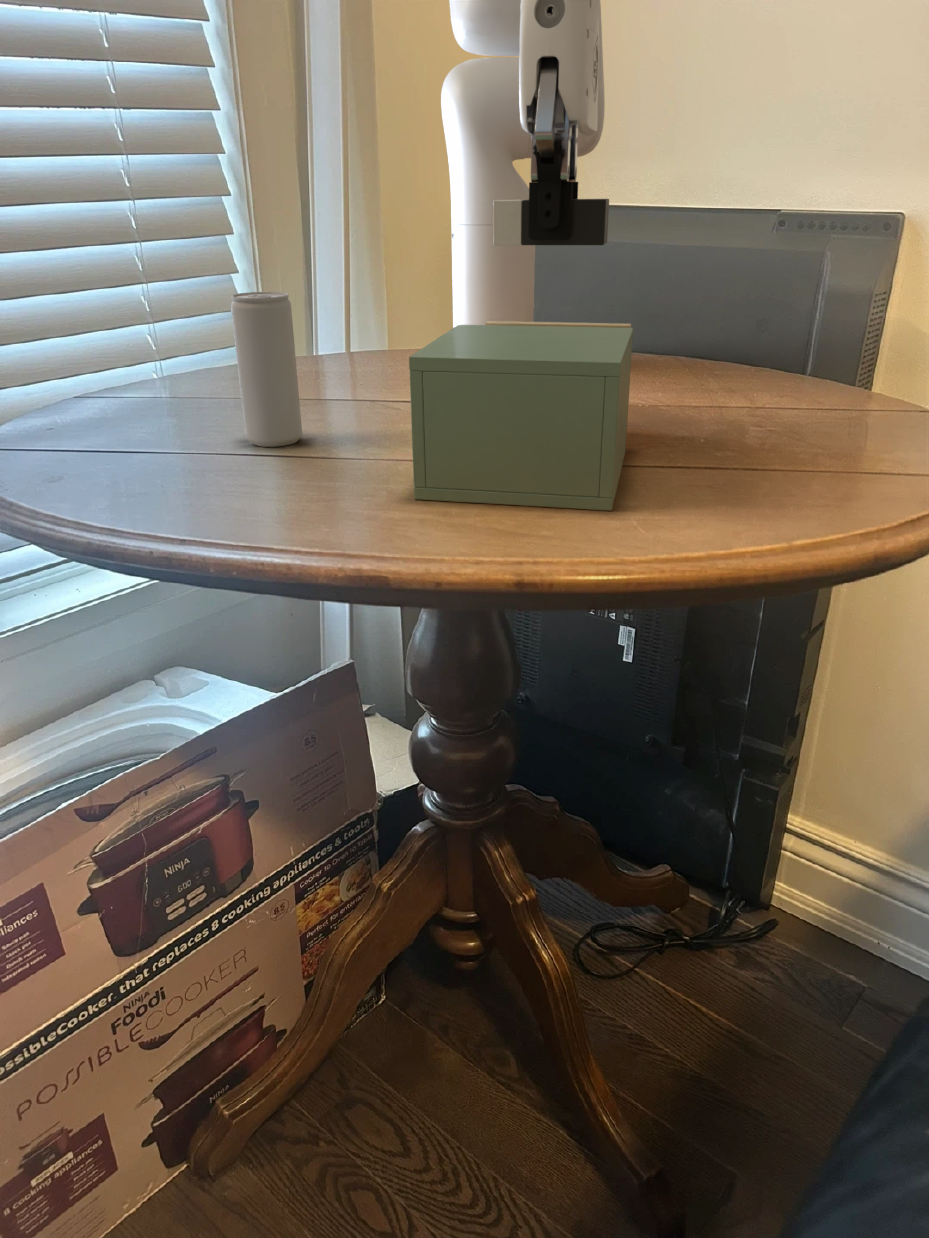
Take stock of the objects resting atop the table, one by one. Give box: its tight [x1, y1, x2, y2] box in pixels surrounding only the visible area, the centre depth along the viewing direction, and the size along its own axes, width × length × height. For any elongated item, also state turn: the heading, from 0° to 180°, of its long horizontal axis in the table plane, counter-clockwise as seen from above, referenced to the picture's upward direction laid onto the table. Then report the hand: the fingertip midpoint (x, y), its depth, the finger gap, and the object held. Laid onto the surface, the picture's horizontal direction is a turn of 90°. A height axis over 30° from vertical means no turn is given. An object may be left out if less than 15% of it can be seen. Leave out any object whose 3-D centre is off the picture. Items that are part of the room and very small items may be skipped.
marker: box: [494, 198, 610, 246], centre depth 72 cm, size 9×3×3 cm, turn 78°
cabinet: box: [408, 325, 634, 512], centre depth 68 cm, size 15×14×10 cm
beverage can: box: [230, 291, 303, 448], centre depth 77 cm, size 5×5×12 cm
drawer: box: [485, 321, 632, 328], centre depth 79 cm, size 18×13×8 cm
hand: (552, 235), depth 73 cm, fingers closed on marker, 3 cm apart
